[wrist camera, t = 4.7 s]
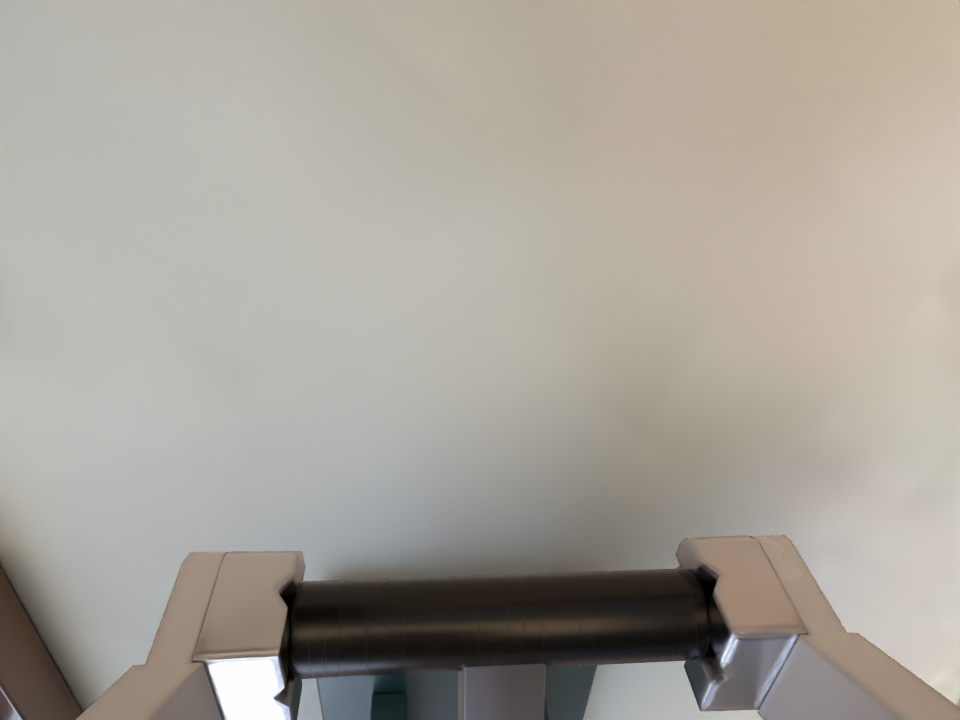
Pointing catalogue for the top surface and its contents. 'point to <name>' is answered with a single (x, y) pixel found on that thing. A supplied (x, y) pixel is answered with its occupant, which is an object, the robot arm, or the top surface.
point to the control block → (28, 668)
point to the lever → (496, 629)
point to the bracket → (440, 695)
